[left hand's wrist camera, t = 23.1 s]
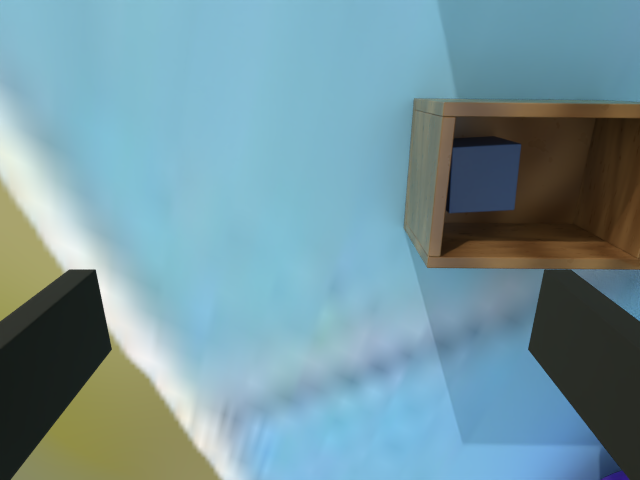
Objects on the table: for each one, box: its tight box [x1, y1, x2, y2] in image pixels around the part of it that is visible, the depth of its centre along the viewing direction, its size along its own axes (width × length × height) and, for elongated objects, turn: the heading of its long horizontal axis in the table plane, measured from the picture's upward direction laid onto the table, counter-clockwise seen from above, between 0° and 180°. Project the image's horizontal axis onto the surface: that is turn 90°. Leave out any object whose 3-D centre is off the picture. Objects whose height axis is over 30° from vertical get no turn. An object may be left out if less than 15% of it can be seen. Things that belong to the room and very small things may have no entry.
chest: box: [404, 98, 640, 270], centre depth 32 cm, size 15×11×9 cm
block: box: [446, 136, 521, 213], centre depth 33 cm, size 5×5×5 cm
